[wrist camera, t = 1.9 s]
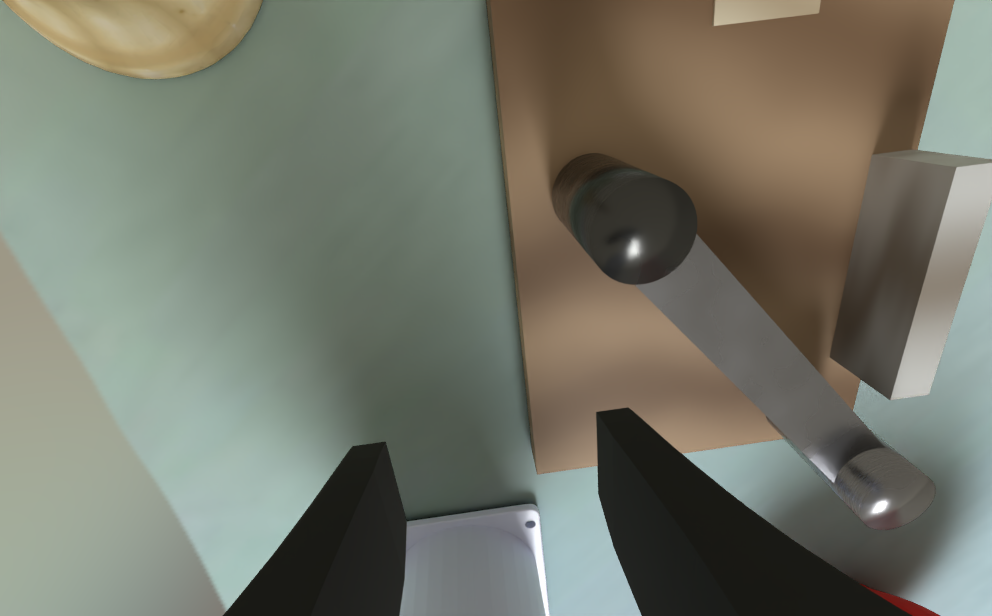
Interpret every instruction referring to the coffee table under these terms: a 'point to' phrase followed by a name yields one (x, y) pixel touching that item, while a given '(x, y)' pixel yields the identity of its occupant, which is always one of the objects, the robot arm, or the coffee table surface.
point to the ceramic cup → (904, 604)
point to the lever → (732, 330)
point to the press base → (732, 199)
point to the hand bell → (142, 32)
